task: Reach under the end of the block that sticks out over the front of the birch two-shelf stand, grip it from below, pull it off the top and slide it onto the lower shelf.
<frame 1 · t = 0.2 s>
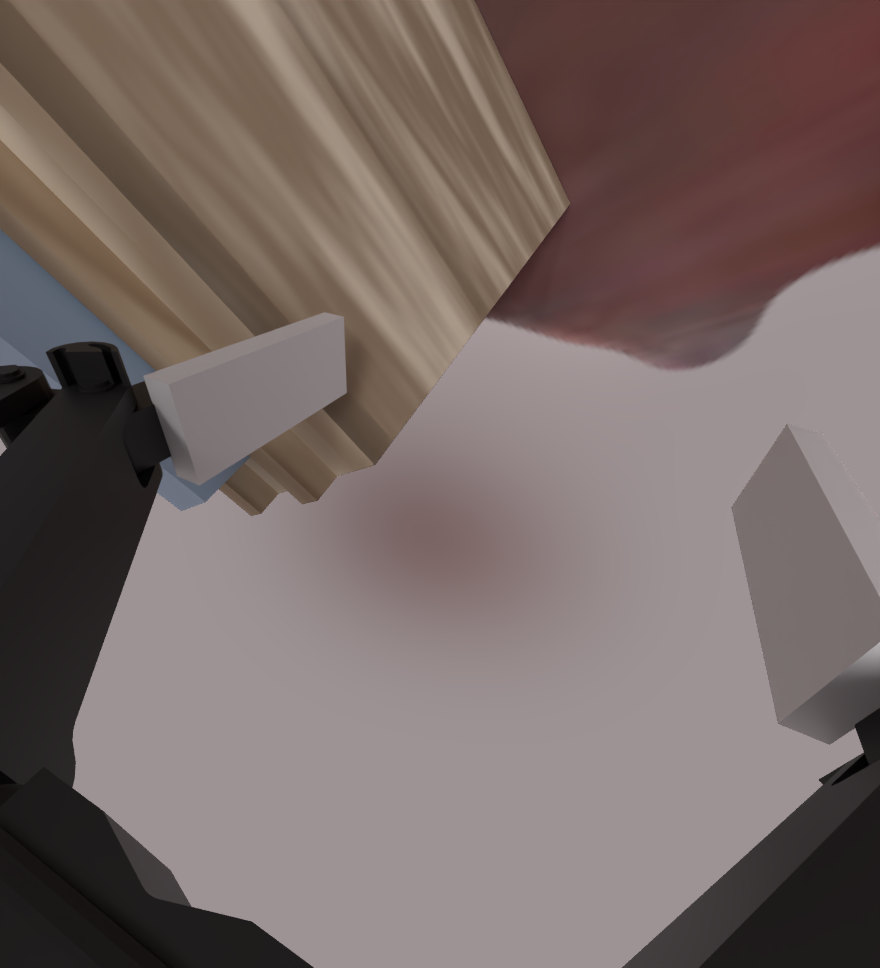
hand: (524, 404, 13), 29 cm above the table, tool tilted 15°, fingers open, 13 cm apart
shelf stand: (435, 137, 34), on the table
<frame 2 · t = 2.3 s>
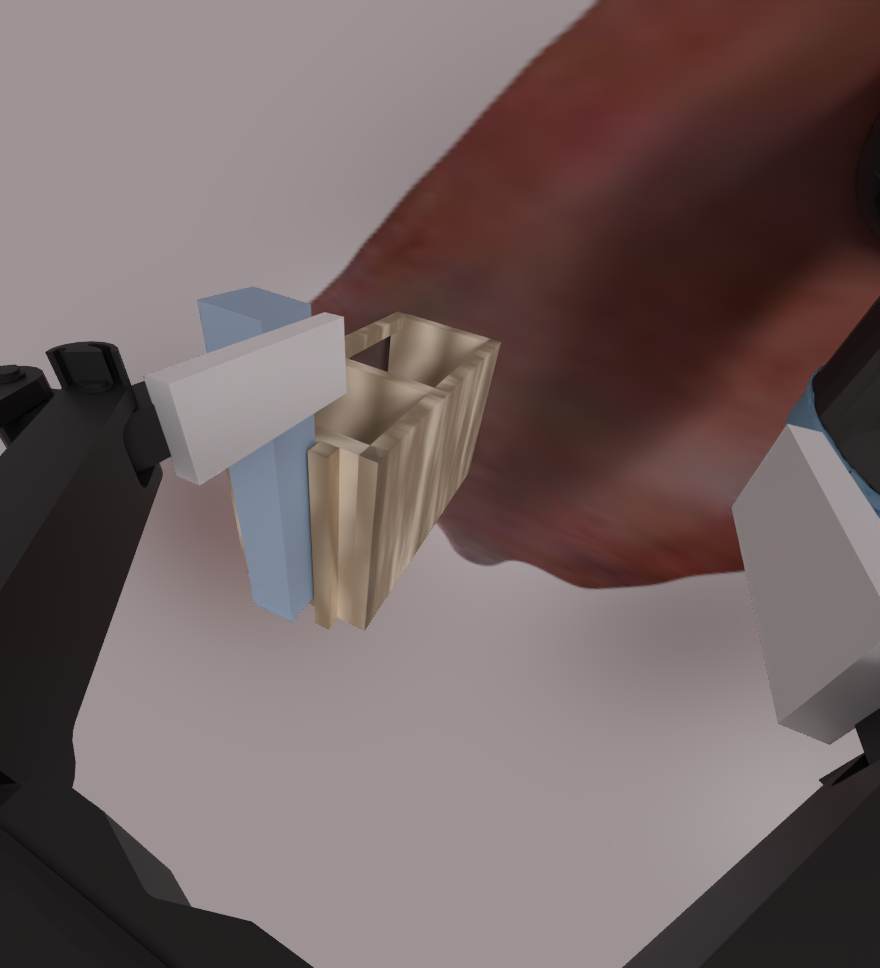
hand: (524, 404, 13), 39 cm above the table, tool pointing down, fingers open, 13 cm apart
shelf stand: (436, 398, 59), on the table
block: (294, 473, 32), point 30 cm above the table, touching shelf stand
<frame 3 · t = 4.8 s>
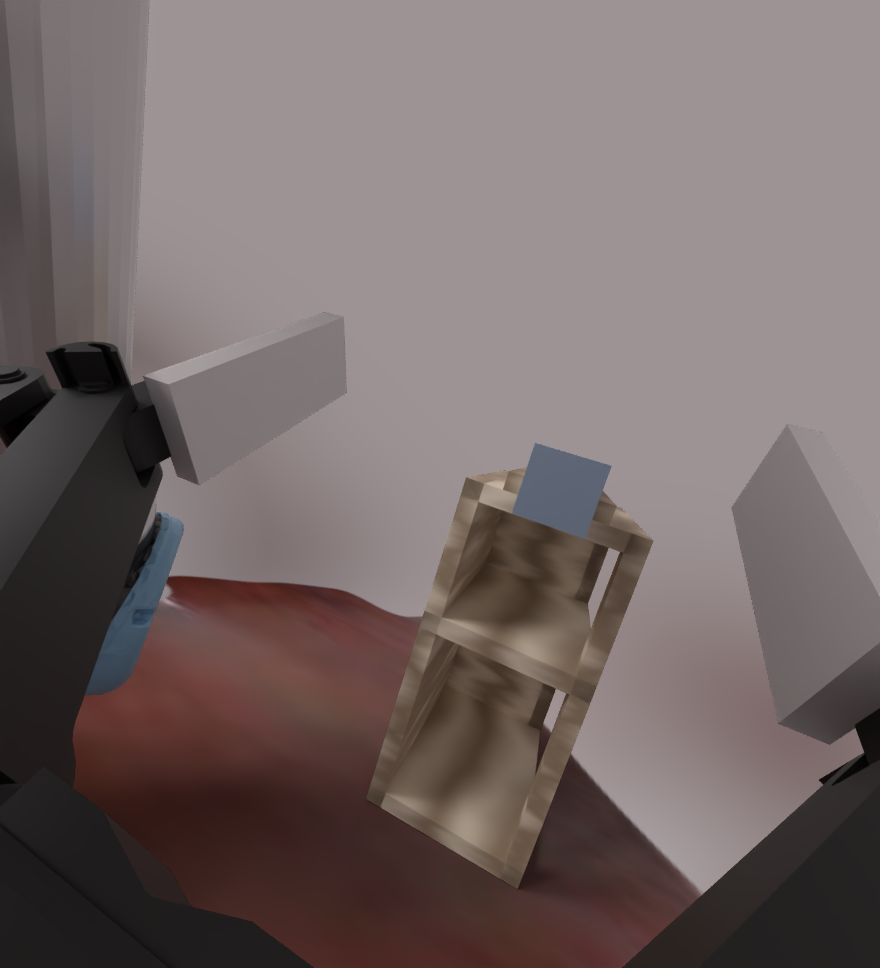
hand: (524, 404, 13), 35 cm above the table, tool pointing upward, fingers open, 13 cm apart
shelf stand: (466, 760, 45), on the table
block: (556, 501, 35), point 30 cm above the table, touching shelf stand
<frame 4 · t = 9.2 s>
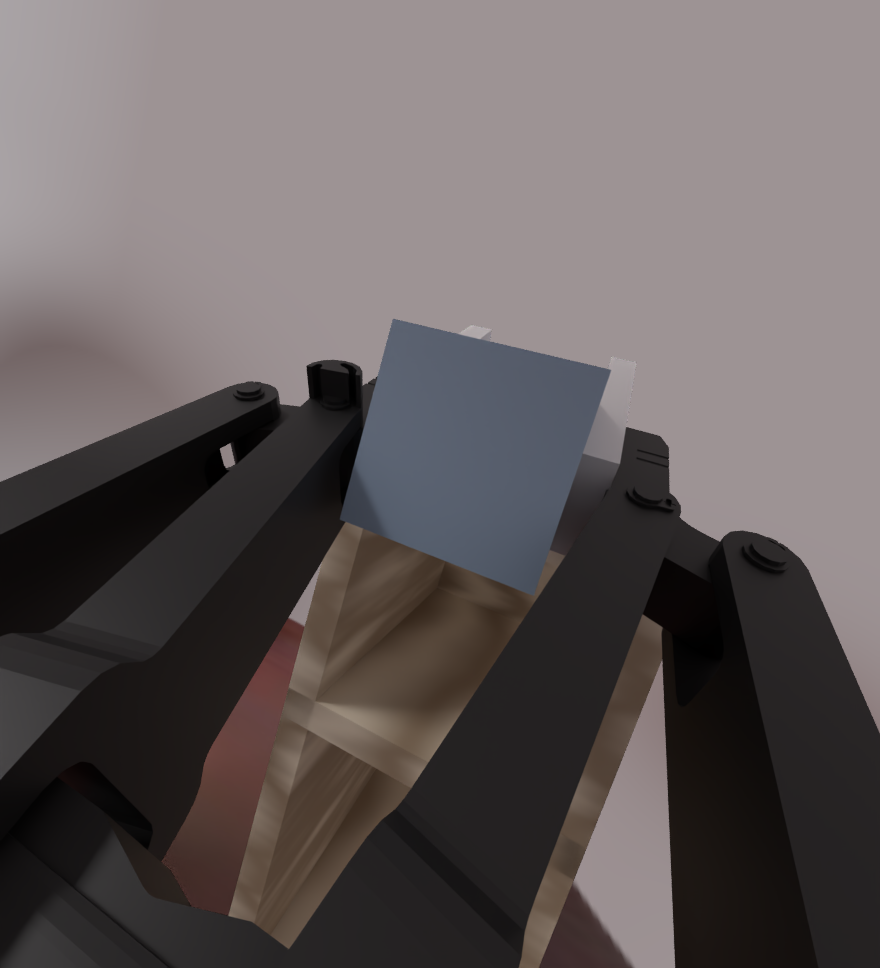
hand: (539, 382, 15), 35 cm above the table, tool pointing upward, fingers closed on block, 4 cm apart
shelf stand: (397, 887, 30), on the table
block: (516, 497, 20), point 30 cm above the table, touching gripper, shelf stand
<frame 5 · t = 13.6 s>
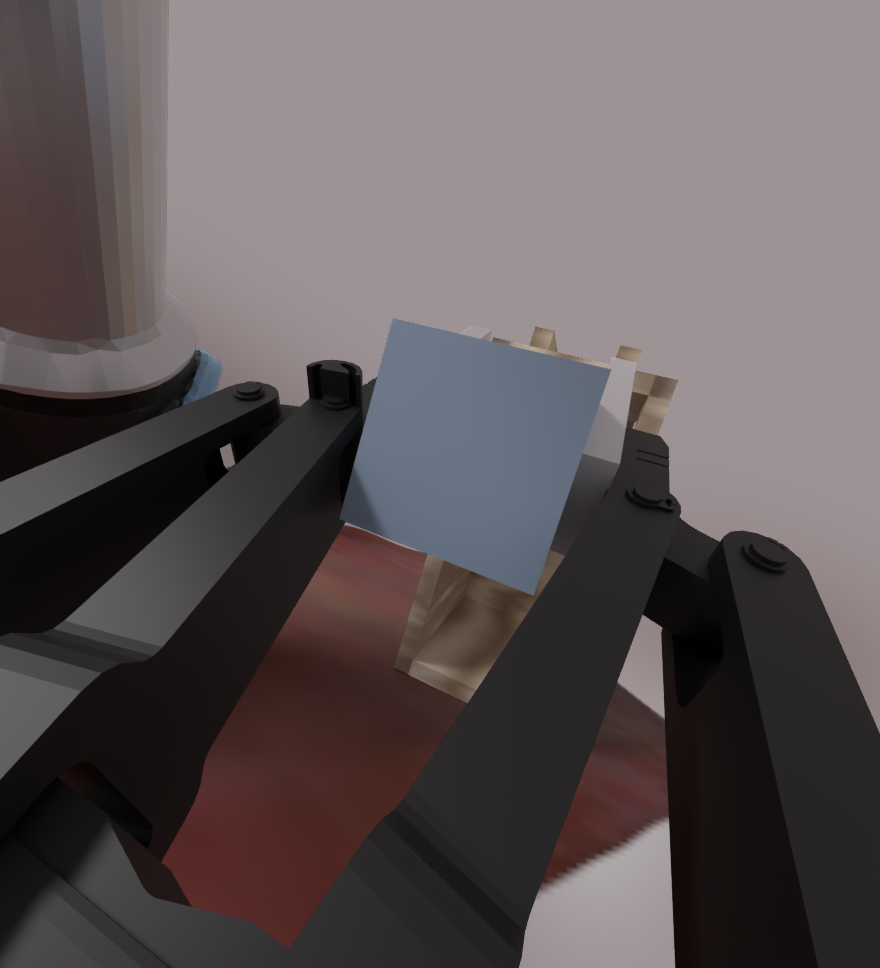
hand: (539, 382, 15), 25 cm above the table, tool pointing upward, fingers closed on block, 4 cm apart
shelf stand: (487, 652, 46), on the table
block: (516, 497, 20), point 20 cm above the table, touching gripper
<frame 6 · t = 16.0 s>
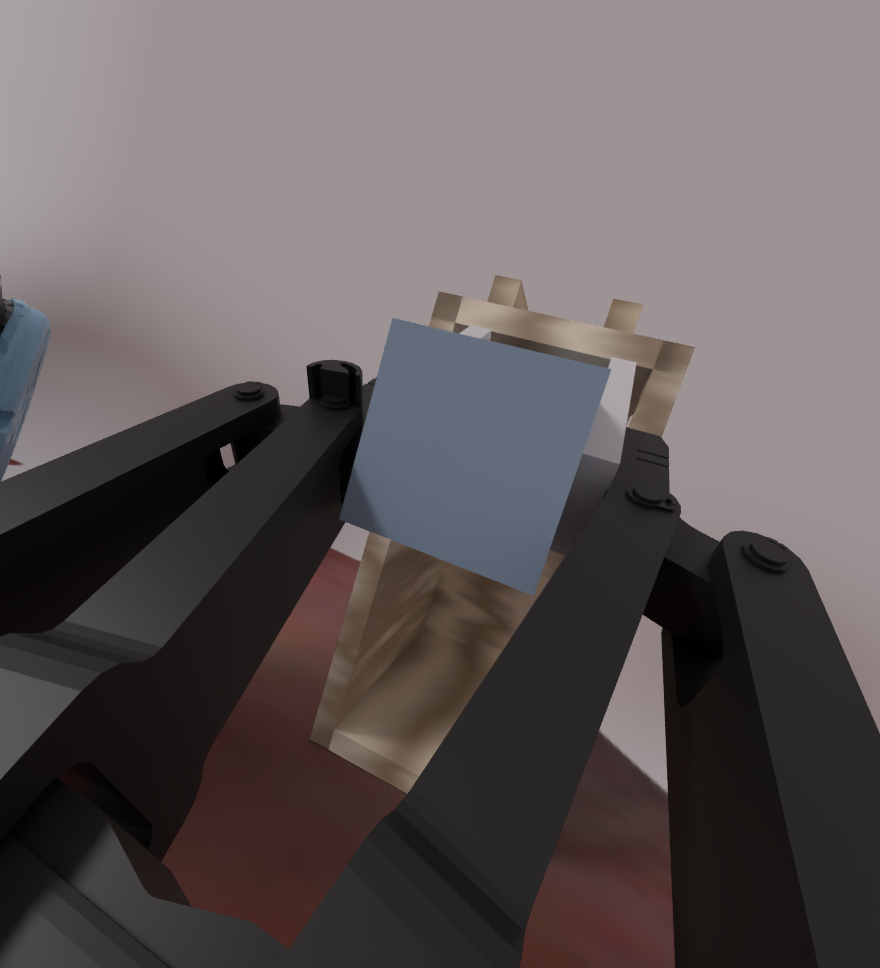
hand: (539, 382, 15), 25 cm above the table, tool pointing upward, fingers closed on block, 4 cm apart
shelf stand: (444, 705, 36), on the table
block: (517, 497, 20), point 20 cm above the table, touching gripper
when the fingers open (25 cm above the table, at t = 18.1 s): block drops 1 cm, resting on shelf stand.
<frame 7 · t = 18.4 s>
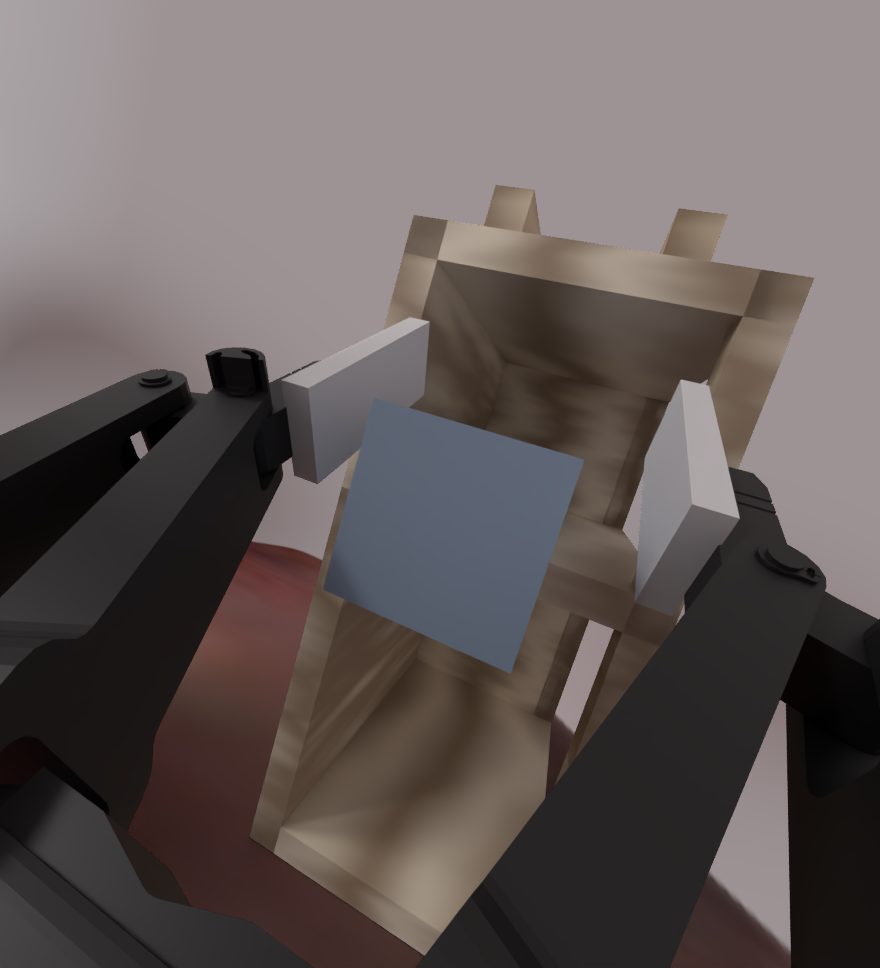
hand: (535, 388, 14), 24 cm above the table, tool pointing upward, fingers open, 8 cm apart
shelf stand: (437, 767, 29), on the table
block: (506, 526, 21), point 18 cm above the table, touching shelf stand
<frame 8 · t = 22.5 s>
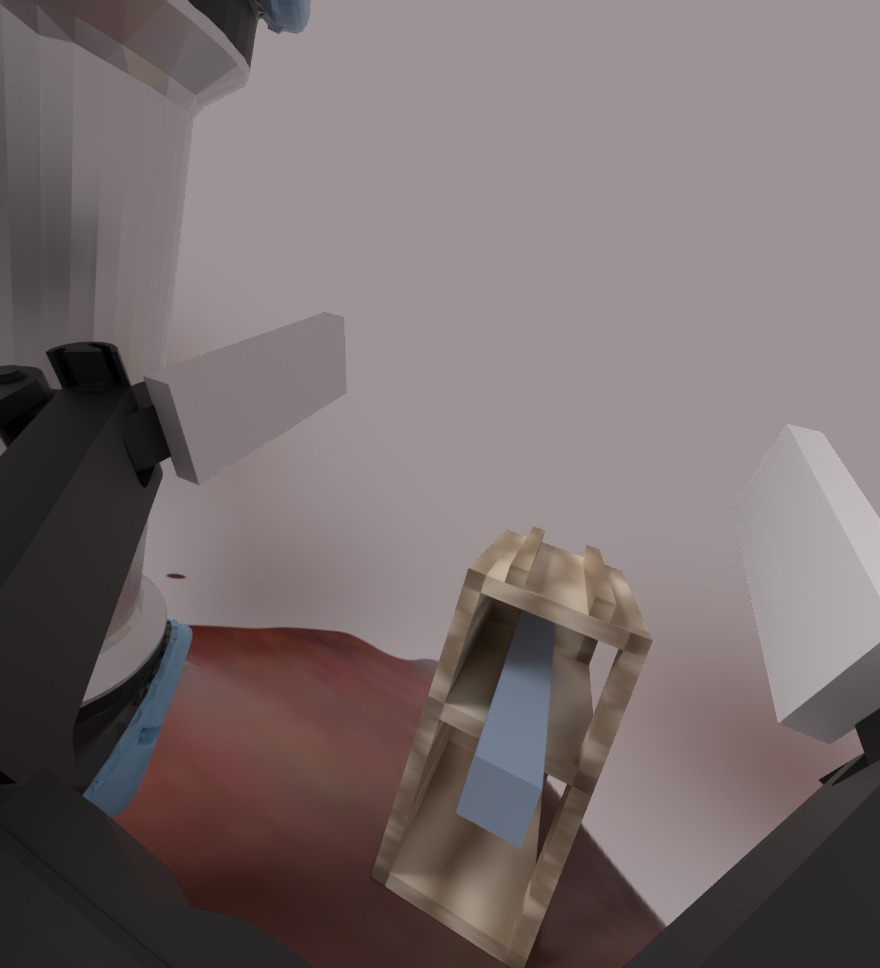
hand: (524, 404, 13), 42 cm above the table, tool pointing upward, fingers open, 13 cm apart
shelf stand: (469, 826, 46), on the table
block: (514, 706, 37), point 18 cm above the table, touching shelf stand
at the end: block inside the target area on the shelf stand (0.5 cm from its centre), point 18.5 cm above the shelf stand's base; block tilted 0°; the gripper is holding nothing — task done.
